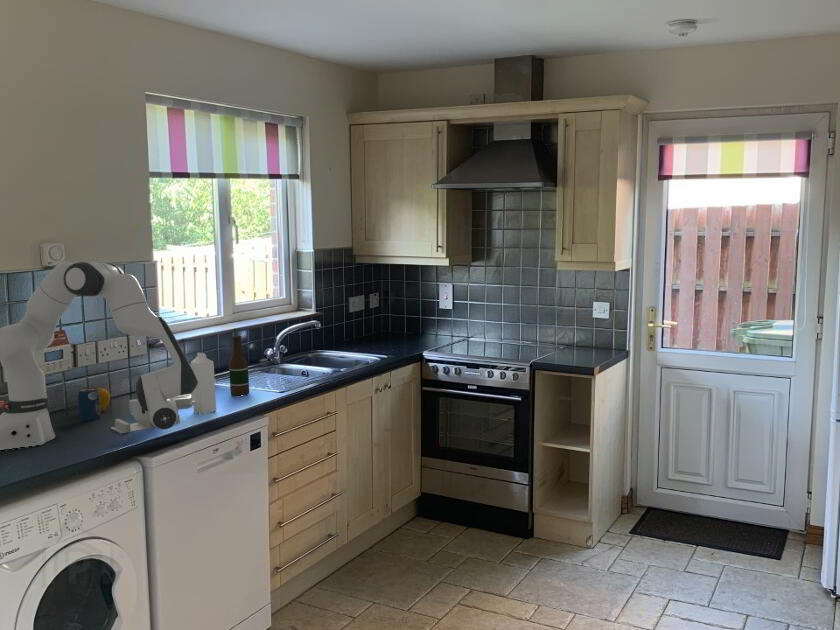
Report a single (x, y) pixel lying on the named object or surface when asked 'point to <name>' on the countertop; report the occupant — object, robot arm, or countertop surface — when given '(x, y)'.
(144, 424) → the white ridged flat base
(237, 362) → the beer bottle
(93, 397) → the soda can
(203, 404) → the milk
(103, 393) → the yellow bell pepper
